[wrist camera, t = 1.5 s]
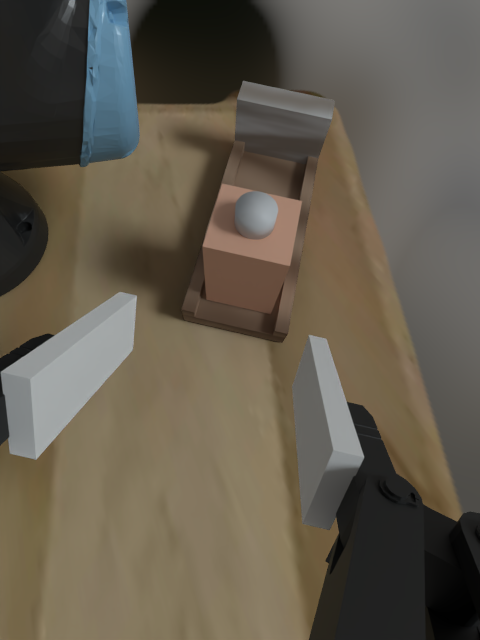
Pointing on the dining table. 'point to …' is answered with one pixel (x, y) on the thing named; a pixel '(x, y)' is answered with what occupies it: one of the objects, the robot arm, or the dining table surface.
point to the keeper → (249, 247)
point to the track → (272, 178)
